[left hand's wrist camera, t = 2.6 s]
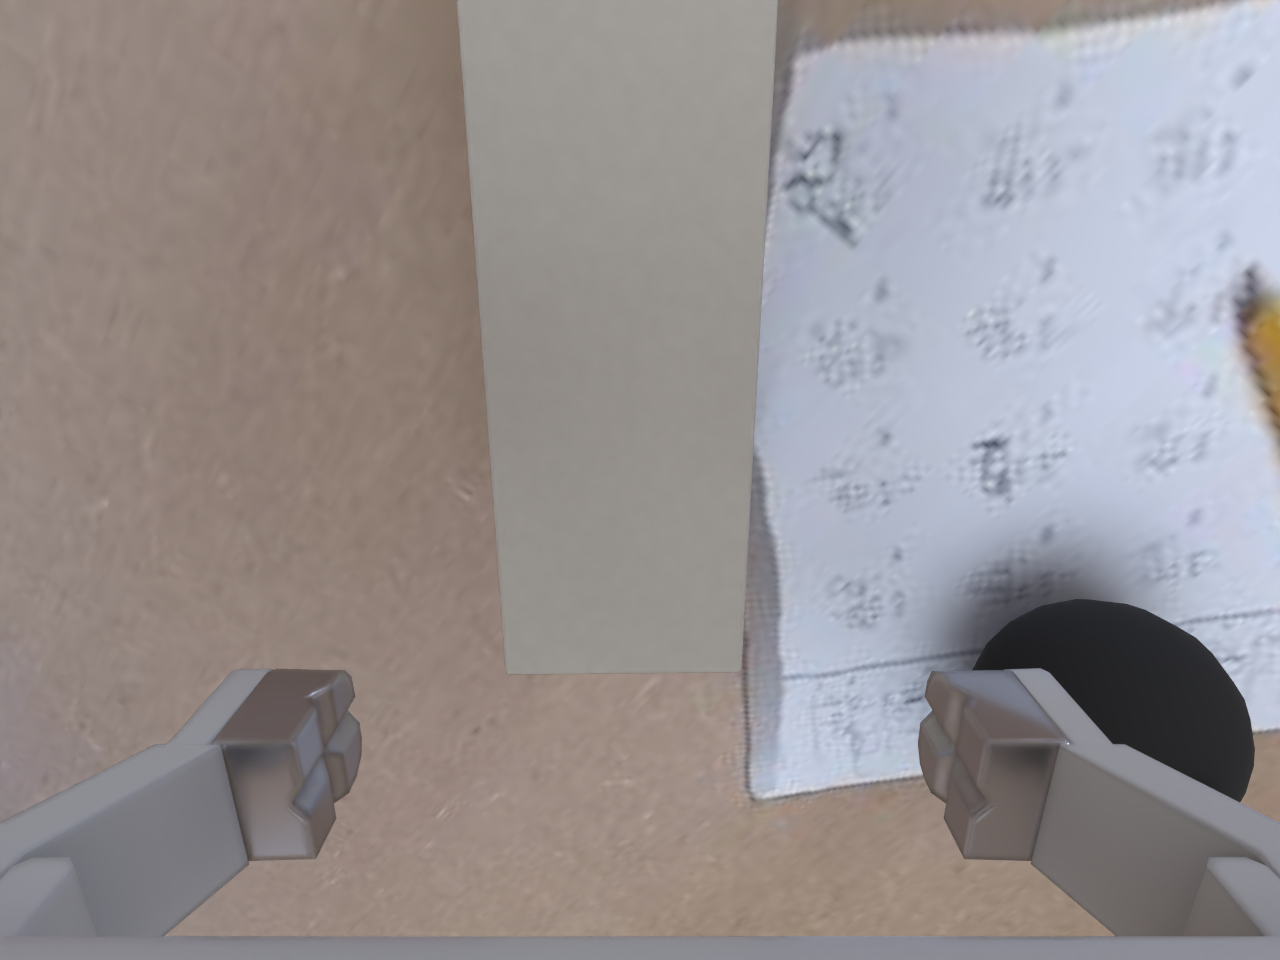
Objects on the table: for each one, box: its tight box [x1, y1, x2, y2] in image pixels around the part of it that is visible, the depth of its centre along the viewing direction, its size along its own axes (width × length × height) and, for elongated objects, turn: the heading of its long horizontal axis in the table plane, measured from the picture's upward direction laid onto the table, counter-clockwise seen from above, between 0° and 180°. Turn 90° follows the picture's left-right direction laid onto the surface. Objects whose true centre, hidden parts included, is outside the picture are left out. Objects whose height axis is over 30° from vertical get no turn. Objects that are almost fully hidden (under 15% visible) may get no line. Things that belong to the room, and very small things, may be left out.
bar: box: [456, 0, 778, 675], centre depth 18 cm, size 22×6×9 cm, turn 0°
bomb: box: [972, 599, 1255, 802], centre depth 22 cm, size 8×8×12 cm
